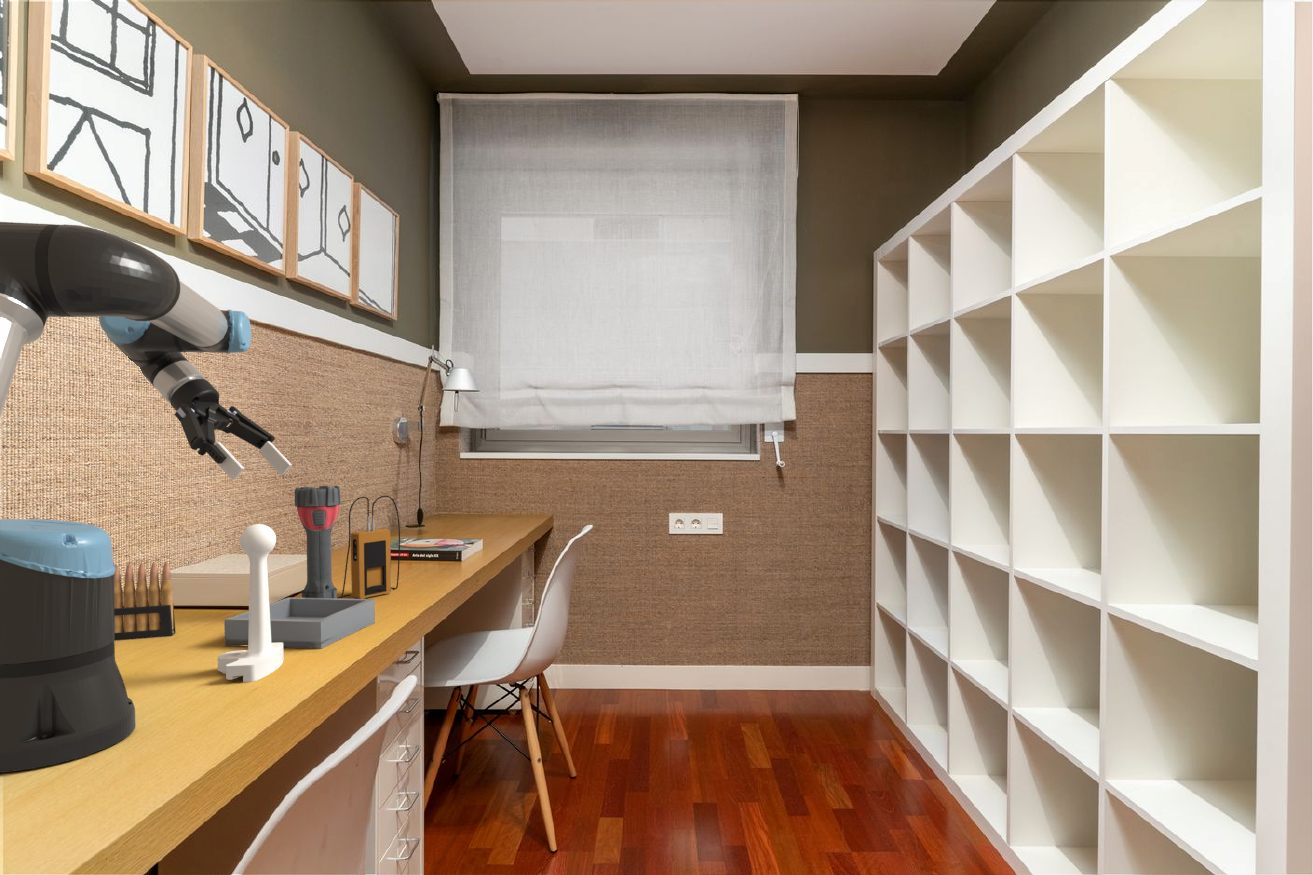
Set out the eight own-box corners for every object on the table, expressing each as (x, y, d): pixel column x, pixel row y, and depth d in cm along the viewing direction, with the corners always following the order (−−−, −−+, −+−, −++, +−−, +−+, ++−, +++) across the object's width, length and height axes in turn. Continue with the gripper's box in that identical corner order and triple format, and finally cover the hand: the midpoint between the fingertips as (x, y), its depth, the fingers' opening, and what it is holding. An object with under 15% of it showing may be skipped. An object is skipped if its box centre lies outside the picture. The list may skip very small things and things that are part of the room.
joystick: (261, 681, 102) (259, 528, 102) (200, 684, 101) (197, 530, 101) (291, 657, 113) (289, 519, 113) (236, 659, 112) (233, 520, 112)
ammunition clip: (175, 633, 128) (174, 560, 128) (172, 636, 126) (171, 562, 126) (99, 639, 125) (98, 564, 125) (95, 642, 123) (93, 566, 123)
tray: (321, 648, 118) (320, 621, 118) (224, 645, 120) (224, 619, 120) (374, 622, 133) (374, 599, 133) (288, 620, 136) (288, 597, 136)
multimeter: (377, 585, 166) (375, 491, 166) (406, 590, 160) (405, 493, 160) (312, 598, 154) (310, 497, 154) (341, 604, 148) (340, 499, 148)
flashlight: (319, 606, 146) (317, 484, 146) (352, 609, 144) (350, 484, 143) (285, 615, 139) (283, 487, 139) (319, 619, 136) (317, 487, 136)
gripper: (222, 408, 158) (291, 482, 156) (120, 403, 133) (201, 491, 131) (245, 381, 157) (316, 455, 155) (147, 371, 132) (229, 459, 130)
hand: (263, 472), depth 143 cm, fingers open, 13 cm apart
